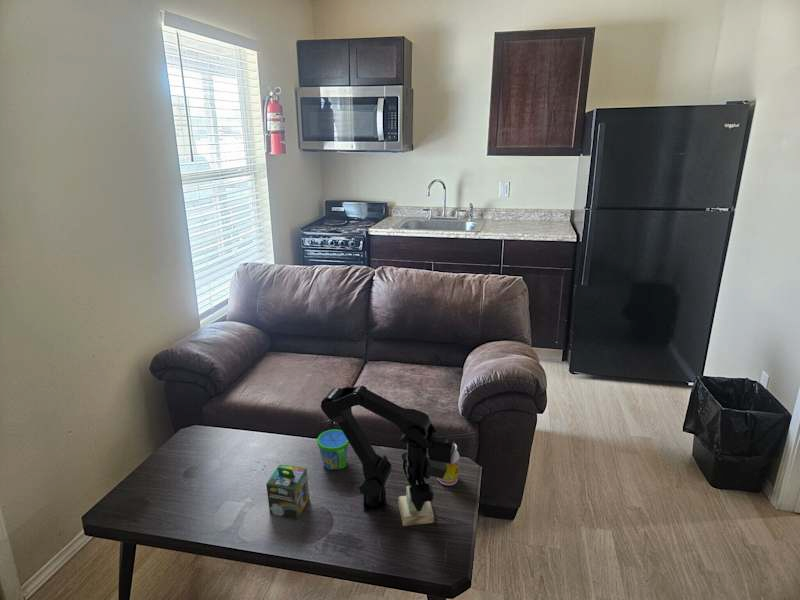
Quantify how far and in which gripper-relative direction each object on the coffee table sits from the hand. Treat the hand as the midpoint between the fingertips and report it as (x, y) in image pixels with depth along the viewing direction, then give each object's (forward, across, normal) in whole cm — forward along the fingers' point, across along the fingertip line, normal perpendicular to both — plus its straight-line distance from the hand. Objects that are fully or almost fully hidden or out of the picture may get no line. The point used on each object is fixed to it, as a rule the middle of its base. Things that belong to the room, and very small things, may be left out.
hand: (415, 499), depth 151 cm
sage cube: (+2, 0, 0) cm, 2 cm away
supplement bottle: (+5, +13, -13) cm, 19 cm away
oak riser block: (+5, 0, 0) cm, 5 cm away
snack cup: (+5, +26, +23) cm, 35 cm away
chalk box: (+5, +8, +37) cm, 38 cm away
